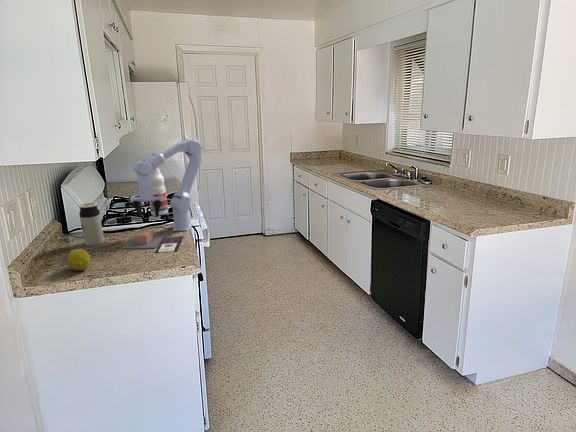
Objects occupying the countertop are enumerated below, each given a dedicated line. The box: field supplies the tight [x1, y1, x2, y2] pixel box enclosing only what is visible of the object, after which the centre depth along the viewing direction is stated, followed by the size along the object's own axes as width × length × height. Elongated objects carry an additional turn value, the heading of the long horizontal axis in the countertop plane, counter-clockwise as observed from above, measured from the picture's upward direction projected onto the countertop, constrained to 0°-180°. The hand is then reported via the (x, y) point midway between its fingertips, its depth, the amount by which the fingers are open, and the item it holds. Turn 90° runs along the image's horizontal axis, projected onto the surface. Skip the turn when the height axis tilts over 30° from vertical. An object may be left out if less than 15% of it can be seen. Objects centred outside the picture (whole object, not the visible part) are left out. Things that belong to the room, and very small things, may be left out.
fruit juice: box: [148, 166, 169, 216], centre depth 219 cm, size 9×9×28 cm
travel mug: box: [78, 202, 105, 247], centre depth 175 cm, size 8×8×18 cm
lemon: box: [66, 248, 91, 272], centre depth 149 cm, size 11×8×8 cm
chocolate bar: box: [154, 235, 184, 254], centre depth 174 cm, size 9×1×18 cm
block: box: [135, 229, 154, 244], centre depth 177 cm, size 8×4×4 cm, turn 0°
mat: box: [121, 233, 168, 250], centre depth 178 cm, size 18×14×1 cm
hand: (149, 216), depth 183 cm, fingers open, 7 cm apart
